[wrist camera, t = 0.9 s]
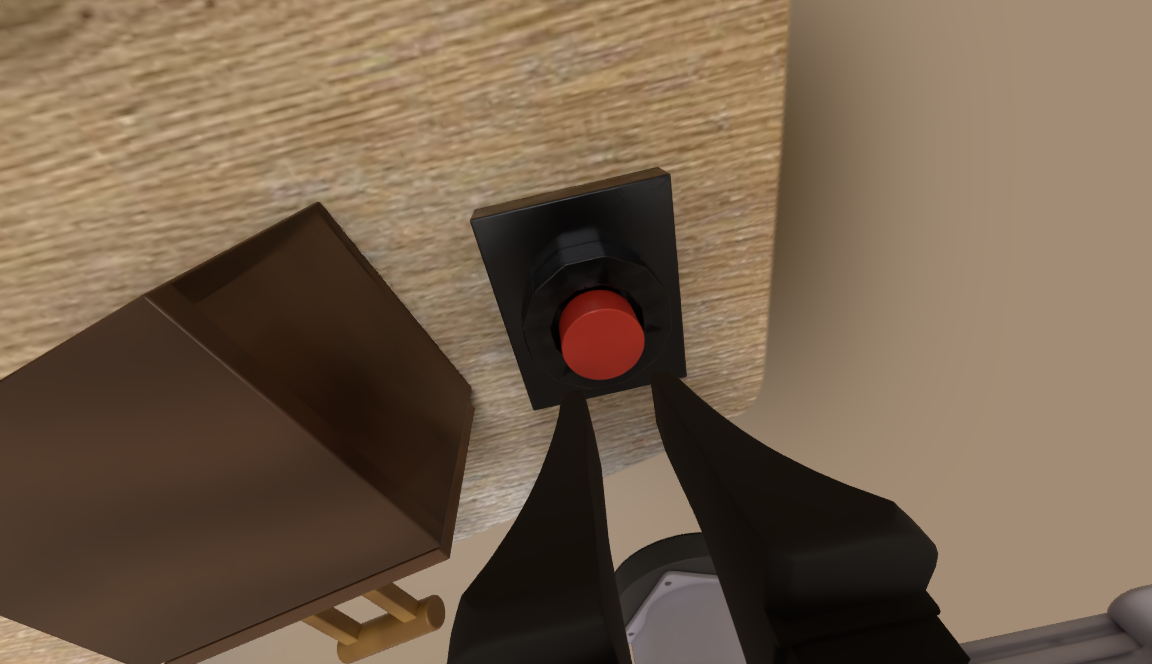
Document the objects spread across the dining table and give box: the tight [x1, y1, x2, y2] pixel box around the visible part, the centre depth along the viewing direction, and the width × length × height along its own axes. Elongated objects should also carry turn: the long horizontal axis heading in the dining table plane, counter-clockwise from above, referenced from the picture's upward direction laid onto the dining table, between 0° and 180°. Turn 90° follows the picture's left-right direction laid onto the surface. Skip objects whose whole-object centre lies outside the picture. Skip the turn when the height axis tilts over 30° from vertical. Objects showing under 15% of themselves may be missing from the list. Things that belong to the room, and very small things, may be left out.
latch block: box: [470, 167, 687, 410], centre depth 19 cm, size 10×8×4 cm
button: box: [559, 290, 644, 380], centre depth 17 cm, size 3×3×2 cm
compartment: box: [0, 202, 471, 664], centre depth 17 cm, size 11×14×9 cm
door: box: [164, 402, 475, 664], centre depth 21 cm, size 6×13×8 cm, turn 116°
